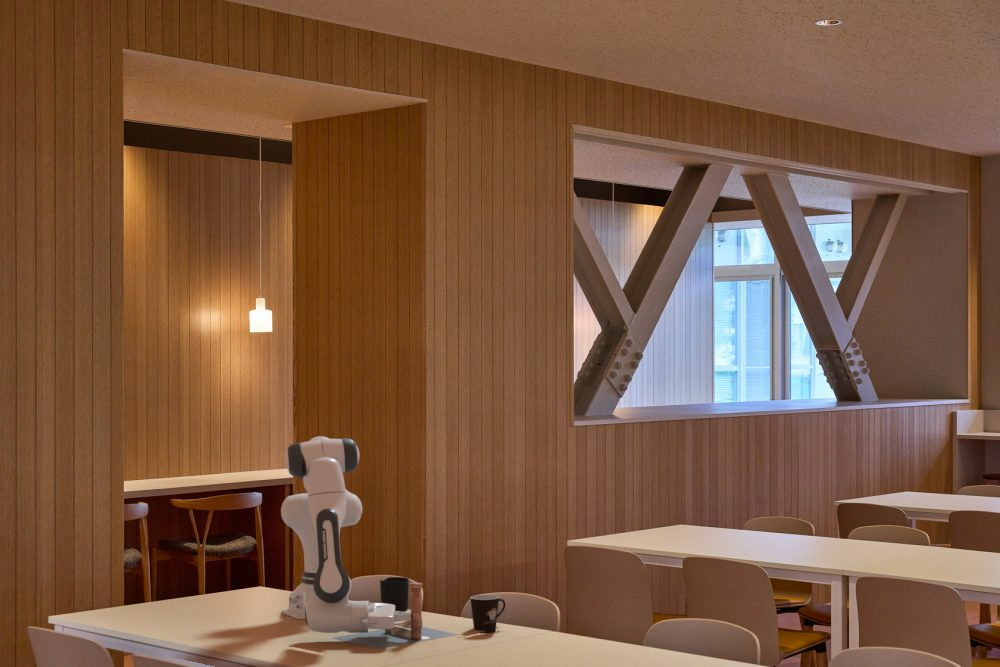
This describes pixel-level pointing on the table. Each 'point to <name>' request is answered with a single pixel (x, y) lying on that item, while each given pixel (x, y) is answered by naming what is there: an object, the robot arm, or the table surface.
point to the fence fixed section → (403, 624)
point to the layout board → (391, 638)
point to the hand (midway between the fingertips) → (410, 616)
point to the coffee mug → (485, 612)
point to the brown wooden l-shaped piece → (413, 615)
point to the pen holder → (395, 592)
